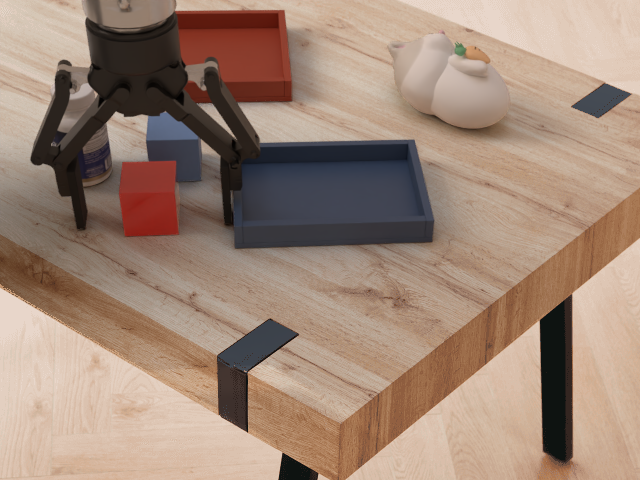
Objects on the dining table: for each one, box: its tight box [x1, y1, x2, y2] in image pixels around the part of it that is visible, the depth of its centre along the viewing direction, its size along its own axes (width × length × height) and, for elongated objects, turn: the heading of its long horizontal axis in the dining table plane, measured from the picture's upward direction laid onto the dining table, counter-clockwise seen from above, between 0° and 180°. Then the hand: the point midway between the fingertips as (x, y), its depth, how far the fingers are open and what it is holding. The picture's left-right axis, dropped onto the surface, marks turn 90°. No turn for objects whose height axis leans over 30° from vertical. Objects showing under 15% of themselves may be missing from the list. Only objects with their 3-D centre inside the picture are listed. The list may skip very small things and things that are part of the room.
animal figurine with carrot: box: [386, 29, 511, 130], centre depth 116 cm, size 10×8×15 cm
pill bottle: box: [49, 82, 113, 187], centre depth 104 cm, size 5×5×10 cm
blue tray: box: [232, 138, 435, 249], centre depth 105 cm, size 19×14×3 cm
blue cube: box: [145, 111, 203, 183], centre depth 107 cm, size 5×5×5 cm
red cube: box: [118, 160, 181, 237], centre depth 101 cm, size 5×5×5 cm
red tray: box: [175, 9, 293, 104], centre depth 124 cm, size 19×17×3 cm
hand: (155, 218), depth 103 cm, fingers open, 13 cm apart
